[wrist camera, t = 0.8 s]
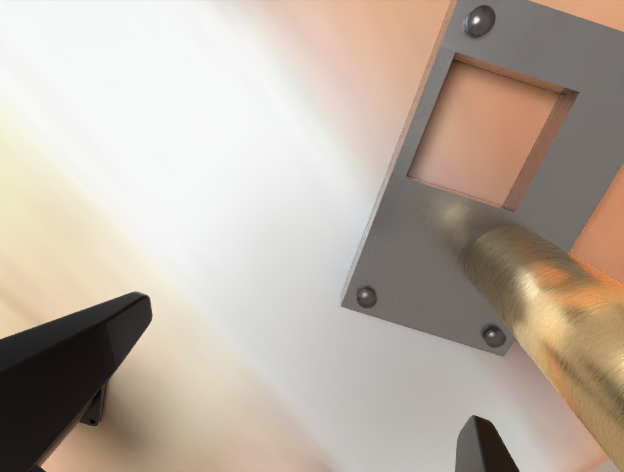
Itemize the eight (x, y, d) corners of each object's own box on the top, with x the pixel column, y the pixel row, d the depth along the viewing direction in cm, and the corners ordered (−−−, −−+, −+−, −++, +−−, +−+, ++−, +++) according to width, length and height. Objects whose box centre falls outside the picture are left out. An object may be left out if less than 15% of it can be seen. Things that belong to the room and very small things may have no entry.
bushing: (521, 303, 20) (770, 559, 9) (452, 282, 20) (607, 511, 8) (560, 238, 19) (927, 440, 7) (486, 215, 19) (731, 378, 7)
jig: (493, 341, 23) (506, 360, 21) (340, 294, 23) (340, 309, 21) (661, 59, 17) (699, 52, 15) (455, -9, 17) (468, -24, 15)
